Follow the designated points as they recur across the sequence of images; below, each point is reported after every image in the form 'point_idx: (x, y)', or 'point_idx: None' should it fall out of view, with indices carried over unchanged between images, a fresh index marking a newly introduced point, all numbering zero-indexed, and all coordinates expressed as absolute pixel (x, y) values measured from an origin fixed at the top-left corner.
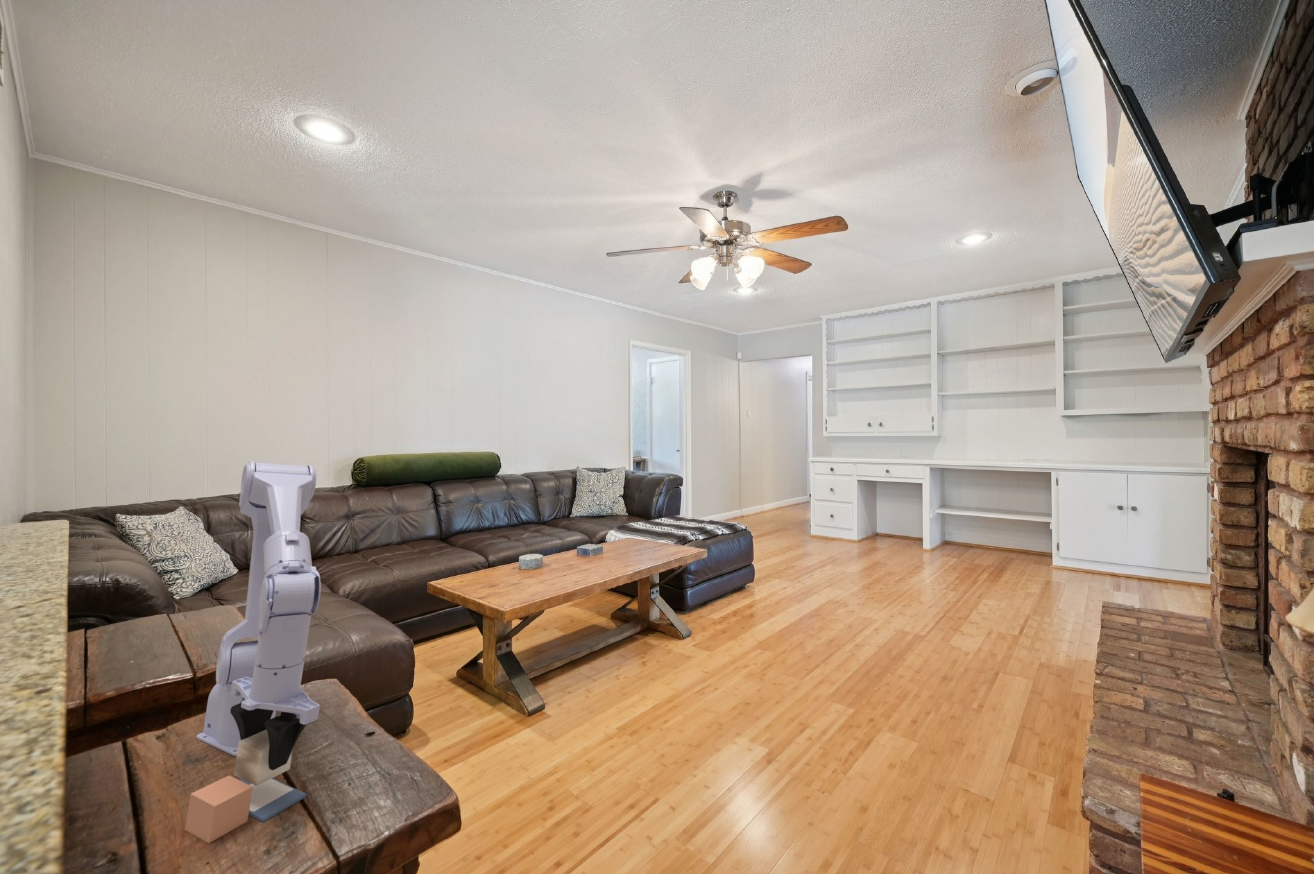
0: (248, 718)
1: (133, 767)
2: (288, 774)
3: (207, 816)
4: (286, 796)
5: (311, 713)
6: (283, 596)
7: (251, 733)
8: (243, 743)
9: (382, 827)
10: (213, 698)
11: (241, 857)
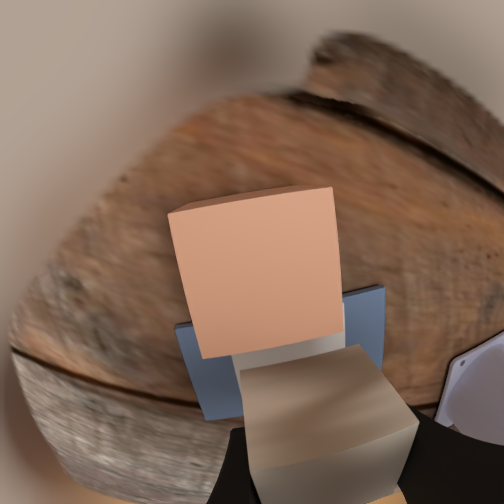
0: (459, 499)
1: None
2: None
3: (206, 203)
4: (229, 395)
5: None
6: None
7: (415, 458)
8: (389, 433)
9: (44, 421)
10: None
11: (88, 238)
